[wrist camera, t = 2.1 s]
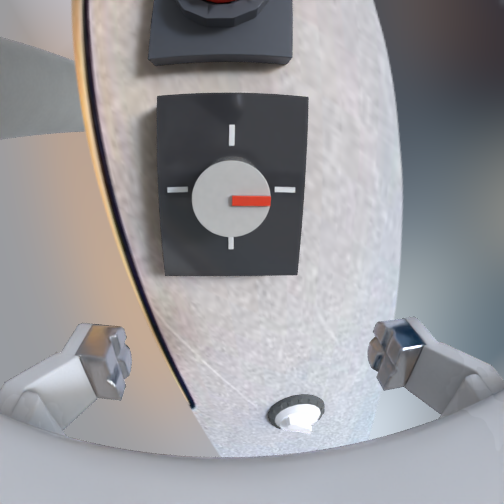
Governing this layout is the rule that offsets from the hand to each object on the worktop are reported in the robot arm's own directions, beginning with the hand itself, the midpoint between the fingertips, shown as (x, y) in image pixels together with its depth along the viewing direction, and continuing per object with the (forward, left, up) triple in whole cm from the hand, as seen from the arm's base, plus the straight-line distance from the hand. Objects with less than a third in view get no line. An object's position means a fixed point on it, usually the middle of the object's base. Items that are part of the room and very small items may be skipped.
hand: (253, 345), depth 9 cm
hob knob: (-1, +3, -12) cm, 13 cm away
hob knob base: (-1, +2, -15) cm, 16 cm away
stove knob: (+7, -26, -16) cm, 31 cm away
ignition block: (-2, +17, -15) cm, 23 cm away
